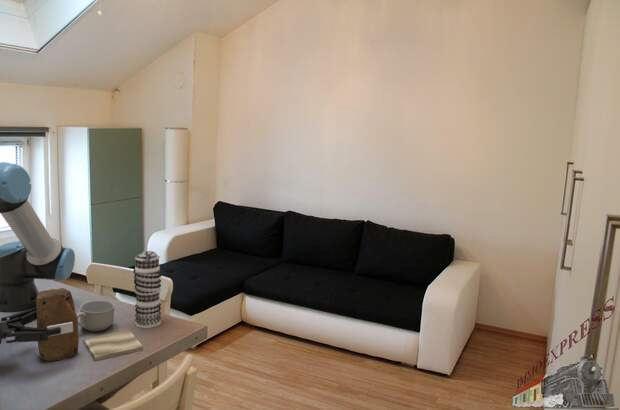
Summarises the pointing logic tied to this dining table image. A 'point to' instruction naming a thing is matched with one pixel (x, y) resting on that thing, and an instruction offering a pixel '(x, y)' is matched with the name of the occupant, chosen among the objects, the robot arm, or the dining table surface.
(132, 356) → the dining table surface
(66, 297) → the block
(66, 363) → the dining table surface
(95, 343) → the beige packet
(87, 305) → the teacup
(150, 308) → the decorative candle
